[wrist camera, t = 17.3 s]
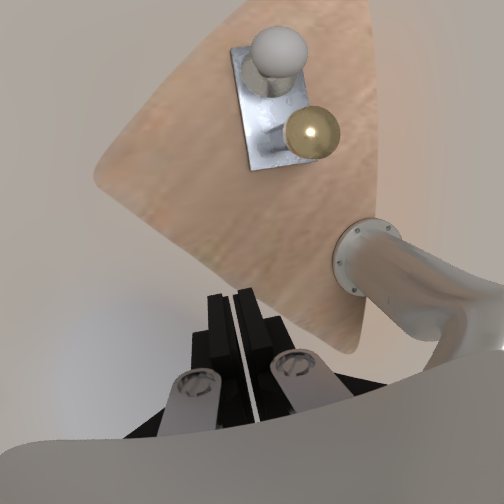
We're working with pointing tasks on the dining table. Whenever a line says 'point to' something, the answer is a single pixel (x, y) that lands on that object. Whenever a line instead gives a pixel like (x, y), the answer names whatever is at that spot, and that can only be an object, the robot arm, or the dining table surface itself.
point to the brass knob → (311, 133)
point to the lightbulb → (279, 52)
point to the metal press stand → (266, 111)
